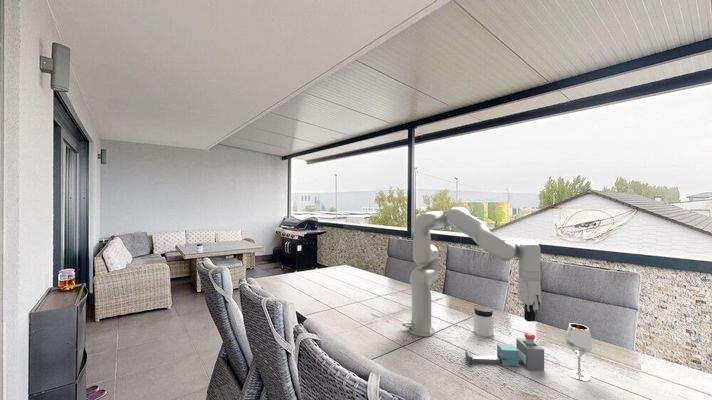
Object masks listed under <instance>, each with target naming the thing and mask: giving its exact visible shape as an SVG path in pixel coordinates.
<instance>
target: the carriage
mask: <svg viewBox="0 0 712 400" xmlns="http://www.w3.org/2000/svg"><path fill="white" fill-rule="evenodd" d="M496 347H497V348H496V351H497V352H496V356H499V357H500V358H501V359H502V366H515V367H516V366H520V365H519V351H518V350H517V349H516V346H515V345H514V344H507V343H497V344H496Z"/></svg>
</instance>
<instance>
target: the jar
mask: <svg viewBox="0 0 712 400" xmlns="http://www.w3.org/2000/svg"><path fill="white" fill-rule="evenodd" d="M493 312H494V311H493V309H492V308H490V307H488V306H483V305H476V306H474V311H473V333H475V334H476V335H477V336H479V337H483V338H484V337H485V338H489V337H492V336H494V333H495V331H494V325H495V324H494V323H495V322H494V315H493Z"/></svg>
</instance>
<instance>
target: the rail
mask: <svg viewBox="0 0 712 400" xmlns="http://www.w3.org/2000/svg"><path fill="white" fill-rule="evenodd" d="M464 352H465V353H464V354H465V360H466V362H467V364H468V365H469V366H473V365H495V366H496V365H498V366H499V365H500V366H501V365H502V359H501V358H500V357H499V356H497V355H476V354H475V355H474V354H471V352H470V351H469V350H465V351H464ZM502 366H503V365H502ZM519 366H524V362H523V360H522V359H521V358H520V357H519Z"/></svg>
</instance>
